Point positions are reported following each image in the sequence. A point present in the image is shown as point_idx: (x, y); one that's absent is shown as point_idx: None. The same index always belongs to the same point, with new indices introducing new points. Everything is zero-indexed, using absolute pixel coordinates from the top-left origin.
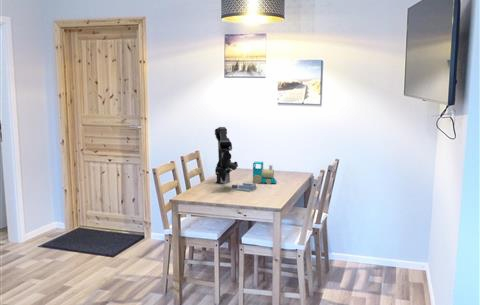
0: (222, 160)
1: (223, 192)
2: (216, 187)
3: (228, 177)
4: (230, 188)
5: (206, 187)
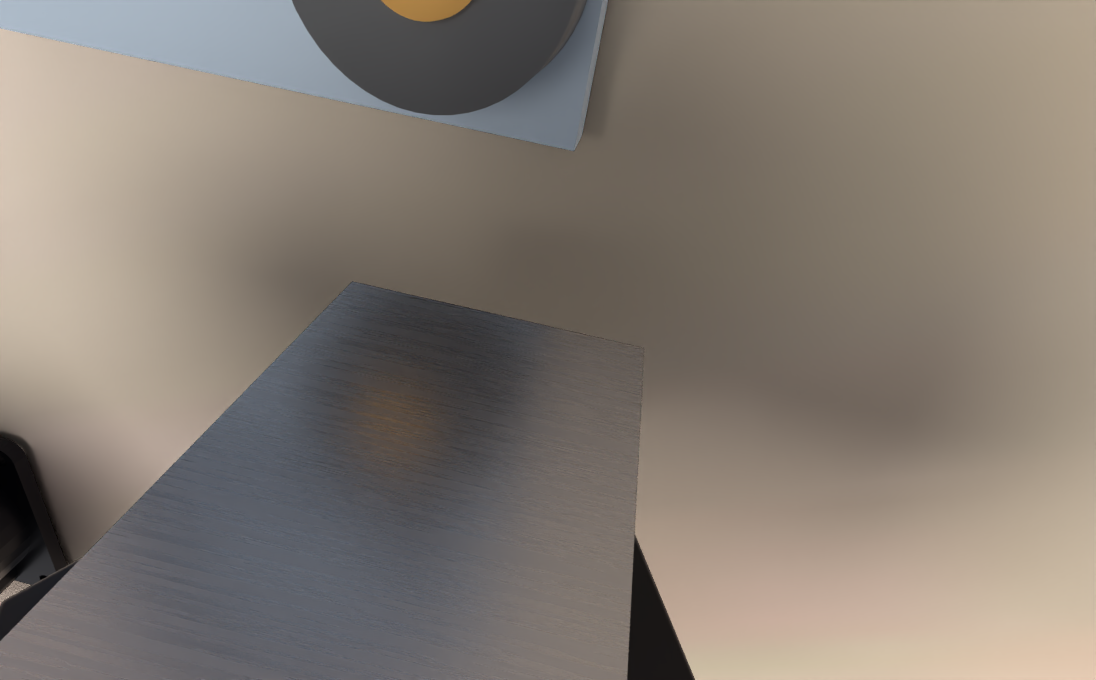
0: None
1: (1083, 270)
2: None
3: (388, 516)
4: (581, 127)
5: None
